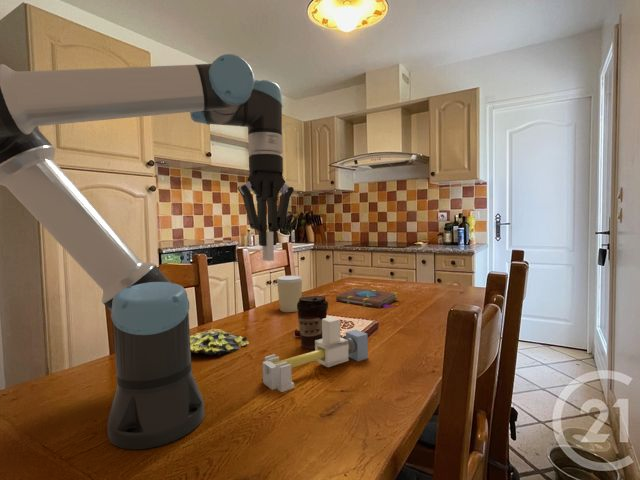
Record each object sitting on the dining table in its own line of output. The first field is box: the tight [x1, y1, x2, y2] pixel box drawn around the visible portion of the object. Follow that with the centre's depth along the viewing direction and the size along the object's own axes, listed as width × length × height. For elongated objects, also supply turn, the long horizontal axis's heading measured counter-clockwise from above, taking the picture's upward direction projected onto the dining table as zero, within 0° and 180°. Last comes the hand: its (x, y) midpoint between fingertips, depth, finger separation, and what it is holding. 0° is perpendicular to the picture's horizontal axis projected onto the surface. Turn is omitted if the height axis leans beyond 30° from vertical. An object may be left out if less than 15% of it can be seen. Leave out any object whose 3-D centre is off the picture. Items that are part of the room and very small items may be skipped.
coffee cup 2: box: [297, 295, 329, 350], centre depth 97 cm, size 9×8×13 cm
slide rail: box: [262, 329, 369, 393], centre depth 82 cm, size 26×8×6 cm, turn 125°
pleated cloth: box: [190, 328, 251, 356], centre depth 100 cm, size 20×16×7 cm
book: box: [335, 286, 400, 309], centre depth 144 cm, size 16×25×5 cm, turn 51°
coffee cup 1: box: [276, 275, 303, 313], centre depth 135 cm, size 9×9×12 cm
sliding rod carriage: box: [314, 316, 350, 368], centre depth 84 cm, size 6×5×10 cm
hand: (268, 260), depth 83 cm, fingers closed
